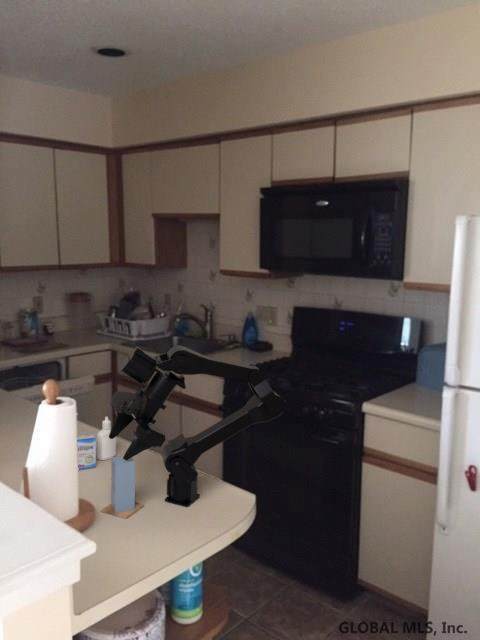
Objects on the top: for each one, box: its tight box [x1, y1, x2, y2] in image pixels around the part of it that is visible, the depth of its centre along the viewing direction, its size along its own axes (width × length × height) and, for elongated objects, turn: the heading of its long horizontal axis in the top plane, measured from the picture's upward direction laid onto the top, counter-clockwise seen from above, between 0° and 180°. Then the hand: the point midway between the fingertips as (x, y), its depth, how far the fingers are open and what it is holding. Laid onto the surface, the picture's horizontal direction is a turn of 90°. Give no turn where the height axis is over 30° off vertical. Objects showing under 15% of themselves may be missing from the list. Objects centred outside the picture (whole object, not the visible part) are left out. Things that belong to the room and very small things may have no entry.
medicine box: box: [76, 432, 97, 471], centre depth 154 cm, size 8×4×9 cm, turn 117°
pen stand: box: [100, 501, 145, 520], centre depth 132 cm, size 7×7×5 cm
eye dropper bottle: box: [96, 416, 117, 461], centre depth 161 cm, size 4×6×12 cm
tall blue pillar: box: [110, 455, 136, 513], centre depth 131 cm, size 4×4×12 cm
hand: (117, 448), depth 132 cm, fingers open, 9 cm apart
